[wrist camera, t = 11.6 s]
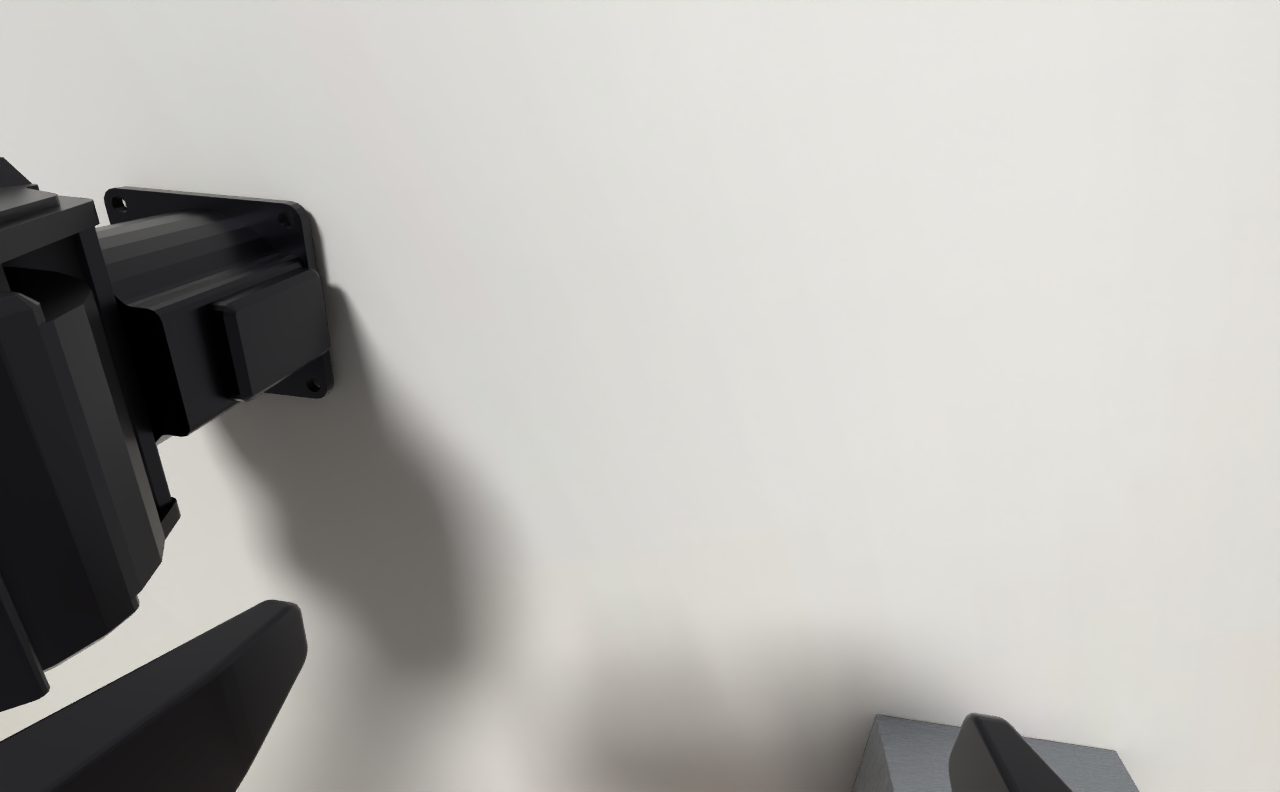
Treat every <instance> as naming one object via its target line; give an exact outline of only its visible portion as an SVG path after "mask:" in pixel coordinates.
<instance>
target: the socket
mask: <svg viewBox="0 0 1280 792" xmlns="http://www.w3.org/2000/svg"><path fill="white" fill-rule="evenodd" d="M959 731H960V727H954V726H947V725H940V724H934V723H927V722H921V721H914V720H907V719H901V718H894V717H888V716H881V715H876V717H875V721H874V724H873V727H872V730H871V733H870V737H869V740H868V743H867V746H866V749H865V753H864V756H863V759H862V762H861V765H860V769H859V772H858V775H857V778H856V781H855V785H854V788H853V791H852V792H952V790H951V784H950V778H949V769H948V763H949V756H950V752H951V750H952V747H953V745H954V743H955V740H956V738H957V735H958V733H959ZM1023 738H1024V739H1025V740H1026V742H1027V743H1028V744H1029V745H1030V746H1031V747H1032V748H1033V749H1034V750H1035V751H1036V752H1037V753H1038V754H1039V755H1040V756H1041V758H1042V759H1043V760H1044V761H1045V762H1046V763H1047V764H1048V765H1049V766H1050V767H1051V768H1052V769H1053V770H1054V771H1055V772H1056V773H1057V775H1058V776H1059V777H1060V778H1061V779H1062V780H1063V781H1064V782H1065V783H1066V784H1067V785H1068V786H1069V787H1070V788H1071V789H1072V790H1073V792H1139V790H1138V788H1137V787H1136V785H1135V783H1134V782H1133V780H1132V778H1131V776H1130V775H1129V773H1128V771H1127V770H1126V768H1125V766H1124V764H1123V763H1122V761H1121V759H1120V758H1119V756H1118V754H1117V752H1116V751H1112V750H1105V749H1099V748H1092V747H1085V746H1079V745H1072V744H1066V743H1059V742H1052V741H1046V740H1039V739H1033V738H1026V737H1023Z"/></svg>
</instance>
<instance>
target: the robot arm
mask: <svg viewBox="0 0 1280 792" xmlns="http://www.w3.org/2000/svg"><path fill="white" fill-rule="evenodd" d="M122 199H123V200H124V201H125V202H126V204H127V208H126V207H125V206H124V204H123V201H122ZM104 202H105V207H106V210H107V214H108V217H109V221H110V225H108V226H103V227H98V228H95V226H96V225H98V224H100V223H99V219H98V216H97V212H96V209H95V205H94V201H93V200H92V199H87V198H78V197H68V196H58V195H57V194H55V193H49V192H44V191H39V187H38V184H32V183H31V182H30V181H28V180H27V179H26V178H25V177H24V176H23V175H22V174H21V173H20V172H19V171H18V170H16V169H15V168H14V167H13V166H12V165H11V164H10V163H9V162H8V161H7V160H6V159H4V158H3V157H0V712H2V711H5V710H8V709H11V708H14V707H17V706H20V705H23V704H26V703H29V702H32V701H35V700H38V699H40V698H41V697H43V696H45V695H46V694H47V693H48V692H49V689H50V686H49V684H48V681H47V679H46V677H45V675H44V672H46V671H48V670H50V669H53V668H55V667H56V666H58V665H60V664H61V663H63V662H65V661H66V660H68V659H70V658H71V657H73V656H75V655H76V654H78V653H80V652H81V651H83V650H85V649H86V648H88V647H90V646H91V645H93V644H95V643H96V642H98V641H100V640H101V639H103V638H104V637H106V636H107V635H108V634H109V633H111V632H112V631H113V630H114V629H115V628H117V627H118V626H119V625H120V624H122V623H123V622H124V621H125V620H127V619H128V618H129V617H130V616H131V615H132V614H133V613H134V612H135V611H136V610H137V609H138V607H139V599H138V596H137V594H138V593H139V592H141V591H142V589H143V588H144V586H145V585H146V584H147V582H148V581H149V579H150V578H151V576H152V575H153V574H154V572H155V571H156V569H157V568H158V566H159V565H160V564H161V562H162V556H163V550H164V543H165V539H166V538H167V536H168V535H169V533H170V532H171V530H172V529H173V527H174V526H175V524H176V523H177V521H178V520H179V518H180V516H181V515H180V511H179V507H178V504H177V500H176V499H175V498H173V497H171V495H170V492H169V488H168V485H167V481H166V478H165V474H164V471H163V467H162V463H161V460H160V456H159V453H158V449H157V445H158V444H160V443H162V442H163V441H165V440H167V439H168V438H170V437H171V436H180V437H183V436H188V435H189V434H191V433H192V432H194V431H196V430H197V429H199V428H200V427H202V426H204V425H205V424H207V423H208V422H210V421H212V420H213V419H215V418H216V417H218V416H220V415H221V414H223V413H224V412H226V411H228V410H229V409H231V408H232V407H234V406H236V405H237V404H239V403H240V402H242V401H244V402H247V401H250V400H252V399H254V398H255V397H257V396H258V395H260V394H261V393H263V392H264V393H272V394H281V395H289V396H298V397H306V398H315V399H317V398H322V397H324V396H325V395H326V394H328V393H329V392H331V390H332V389H333V386H334V381H333V374H332V367H331V361H330V354H329V348H330V339H329V332H328V326H327V319H326V312H325V305H324V299H323V292H322V285H321V278H320V276H319V275H318V273H317V268H316V261H315V254H314V248H313V241H312V234H311V228H310V221H309V217H308V214H307V212H306V211H305V209H304V208H303V207H302V206H301V205H299V204H298V203H295V202H292V201H282V200H271V199H260V198H249V197H238V196H227V195H215V194H204V193H193V192H182V191H171V190H160V189H149V188H137V187H126V186H125V187H119V188H112V189H109V190H108V191H106V193H105V196H104ZM286 213H289V214H290V215H291V216H292V217H293V220H294V225H291V224H290V223H289V222H288V221H287V218H286ZM313 379H315V380H317V381H318V382H319V384H320V387H318V386H317V385H316V384H314V381H313ZM307 648H308V646H307V640H306V635H305V629H304V624H303V619H302V614H301V610H300V608H299V607H298V605H297V604H295V603H291V602H285V601H278V600H266V601H264V602H261V603H259V604H257V605H256V606H254V607H252V608H250V609H248V610H246V611H244V612H242V613H241V614H239V615H237V616H235V617H233V618H231V619H229V620H227V621H226V622H224V623H222V624H220V625H218V626H216V627H214V628H212V629H211V630H209V631H207V632H205V633H203V634H201V635H199V636H197V637H196V638H194V639H192V640H190V641H188V642H186V643H184V644H182V645H181V646H179V647H177V648H175V649H173V650H171V651H169V652H167V653H166V654H164V655H162V656H160V657H158V658H156V659H154V660H152V661H151V662H149V663H147V664H145V665H143V666H141V667H139V668H137V669H136V670H134V671H132V672H130V673H128V674H126V675H124V676H122V677H121V678H119V679H117V680H115V681H113V682H111V683H109V684H107V685H106V686H104V687H102V688H100V689H98V690H96V691H94V692H92V693H91V694H89V695H87V696H85V697H83V698H81V699H79V700H77V701H76V702H74V703H72V704H70V705H68V706H66V707H64V708H62V709H61V710H59V711H57V712H55V713H53V714H51V715H49V716H47V717H46V718H44V719H42V720H40V721H38V722H36V723H34V724H32V725H31V726H29V727H27V728H25V729H23V730H21V731H19V732H17V733H16V734H14V735H12V736H10V737H8V738H6V739H4V740H2V741H1V742H0V792H236V790H237V788H238V787H239V785H240V783H241V782H242V780H243V779H244V777H245V775H246V774H247V772H248V770H249V768H250V766H251V765H252V763H253V761H254V759H255V757H256V756H257V754H258V752H259V750H260V748H261V746H262V744H263V742H264V740H265V738H266V736H267V734H268V732H269V731H270V729H271V727H272V725H273V723H274V721H275V719H276V717H277V715H278V713H279V711H280V709H281V707H282V705H283V703H284V702H285V700H286V698H287V696H288V694H289V692H290V690H291V688H292V686H293V684H294V682H295V680H296V678H297V676H298V675H299V673H300V671H301V669H302V667H303V665H304V662H305V659H306V656H307ZM948 769H949V778H950V784H951V790H952V792H1073V790H1072V789H1071V788H1070V787H1069V786H1068V785H1067V784H1066V783H1065V782H1064V781H1063V780H1062V779H1061V778H1060V777H1059V776H1058V775H1057V773H1056V772H1055V771H1054V770H1053V769H1052V768H1051V767H1050V766H1049V765H1048V764H1047V763H1046V762H1045V761H1044V760H1043V759H1042V758H1041V756H1040V755H1039V754H1038V753H1037V752H1036V751H1035V750H1034V749H1033V748H1032V747H1031V746H1030V745H1029V744H1028V743H1027V742H1026V740H1025V739H1024V738H1023V737H1022V736H1021V735H1020V734H1019V733H1018V732H1017V731H1016V730H1015V729H1014V728H1013V727H1012V726H1011V725H1010V724H1009V723H1008V722H1007V721H1006V720H1004V719H1003V718H1000V717H997V716H990V715H984V714H978V713H970V714H969V715H967V716H966V717H965V719H964V721H963V724H962V726H961V728H960V731H959V733H958V735H957V738H956V740H955V743H954V745H953V747H952V750H951V752H950V756H949V763H948Z"/></svg>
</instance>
